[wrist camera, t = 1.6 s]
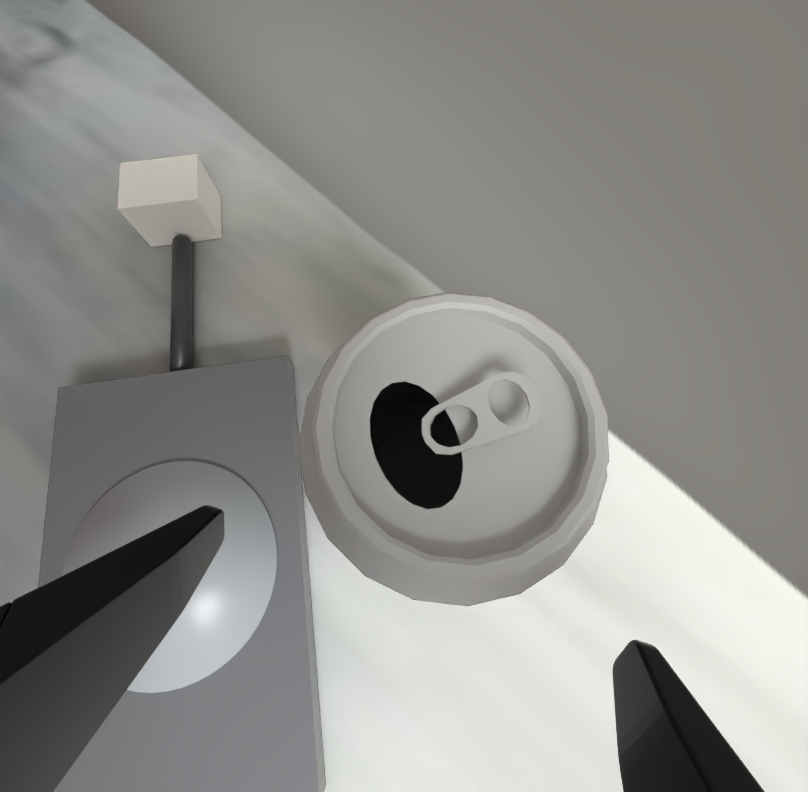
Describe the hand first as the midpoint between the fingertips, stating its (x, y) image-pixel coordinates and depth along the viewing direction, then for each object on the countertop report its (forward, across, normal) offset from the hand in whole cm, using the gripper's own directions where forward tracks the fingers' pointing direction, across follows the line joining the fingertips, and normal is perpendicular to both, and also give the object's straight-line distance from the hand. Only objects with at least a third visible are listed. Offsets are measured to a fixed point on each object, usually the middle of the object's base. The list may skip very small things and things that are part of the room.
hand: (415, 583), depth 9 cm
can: (+10, 0, +5) cm, 11 cm away
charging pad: (+9, +12, +6) cm, 16 cm away
